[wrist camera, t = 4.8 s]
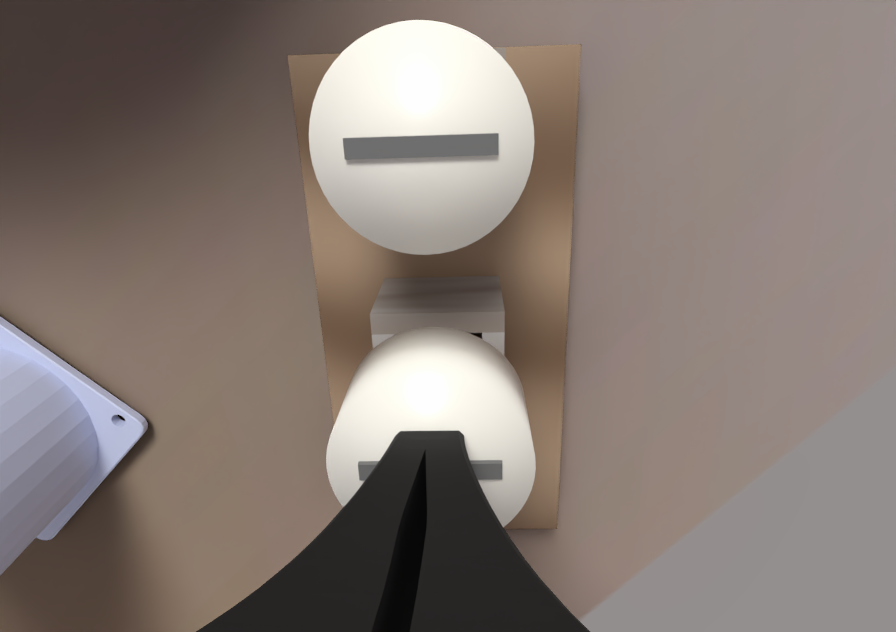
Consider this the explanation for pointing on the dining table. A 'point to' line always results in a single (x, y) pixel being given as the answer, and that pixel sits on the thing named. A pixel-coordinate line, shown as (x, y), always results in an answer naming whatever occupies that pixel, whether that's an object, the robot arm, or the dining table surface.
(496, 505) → the knob middle
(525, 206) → the knob panel
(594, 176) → the dining table surface
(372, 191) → the knob inner
